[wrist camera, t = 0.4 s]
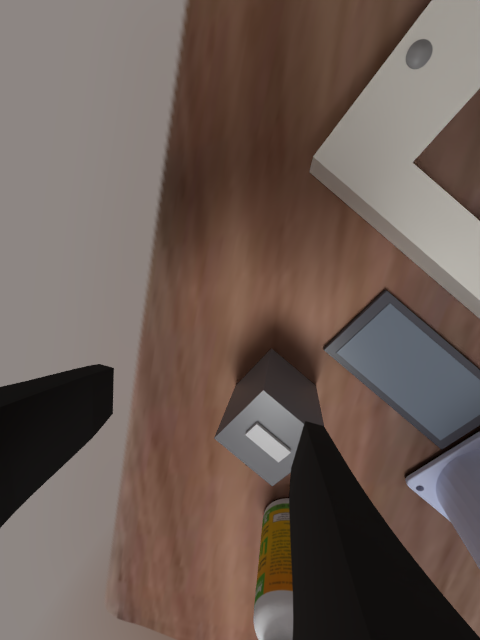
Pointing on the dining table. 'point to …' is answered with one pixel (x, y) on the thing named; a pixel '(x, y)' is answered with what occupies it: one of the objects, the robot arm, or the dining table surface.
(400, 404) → the phone slab
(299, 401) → the block
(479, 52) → the outlet plate
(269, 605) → the supplement bottle
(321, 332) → the dining table surface
